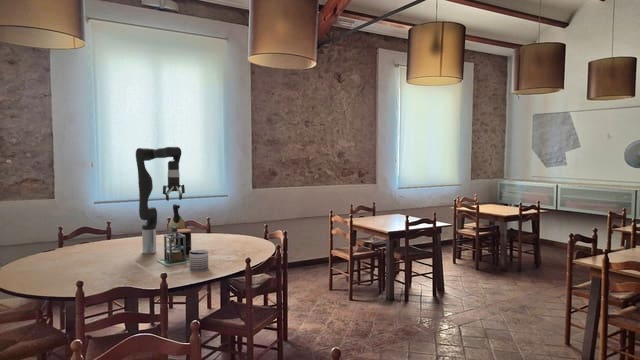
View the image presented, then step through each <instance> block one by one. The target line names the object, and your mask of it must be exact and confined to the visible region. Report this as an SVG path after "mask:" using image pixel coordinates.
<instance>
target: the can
mask: <svg viewBox="0 0 640 360" xmlns="http://www.w3.org/2000/svg"><path fill="white" fill-rule="evenodd" d="M189 252H190V253H189V254H190V255H189V259H190V262H189V271H190V272H193V273H194V272H195V273H199V272H205V271H208V270H209V250H206V249H193V250H192V249H191V251H189Z"/></svg>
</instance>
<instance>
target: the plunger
mask: <svg viewBox="0 0 640 360" xmlns="http://www.w3.org/2000/svg"><path fill="white" fill-rule="evenodd" d="M176 231H178V227H172V232H174V237H176ZM173 246H174V247H173V249H176V239H174V241H173ZM179 252H180V250H175V251H172V253H179Z"/></svg>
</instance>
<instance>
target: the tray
mask: <svg viewBox="0 0 640 360" xmlns="http://www.w3.org/2000/svg"><path fill="white" fill-rule="evenodd" d="M186 260H187V261H185V262H179V263H173V264H168V263H166V262H165V261H164V258H161V259H156V261H157V262H158V263H159V264H161V265H163V266H165V267H169V266H176V265H182V264H188V263H189V264H190V257H187V256H186Z"/></svg>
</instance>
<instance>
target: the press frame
mask: <svg viewBox="0 0 640 360" xmlns="http://www.w3.org/2000/svg"><path fill="white" fill-rule="evenodd" d="M177 235H178V236H177ZM170 236H174V234H170V235H168V234H164V235H163V243H164V244H163V251H164V254H163V255H164V258H163V259H164V261H165V262H166V263H168V264H173V263H179V262H185V261H187V260H186V257H187V256H186V236H185V235H182V234H180V233H178V234H176V236H177V237H170ZM176 238H178V245H176V247H178V248H176V249H174V245H173V243H172V241H173V240H172V239H176ZM180 238H183V246H181V245H180ZM167 240H168V241H167ZM167 242H168V243H167ZM167 244H169V245H167ZM180 247H181V248H180ZM182 249H183V252H181V251H180V252H179V253H172V251H175V250H182Z"/></svg>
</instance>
